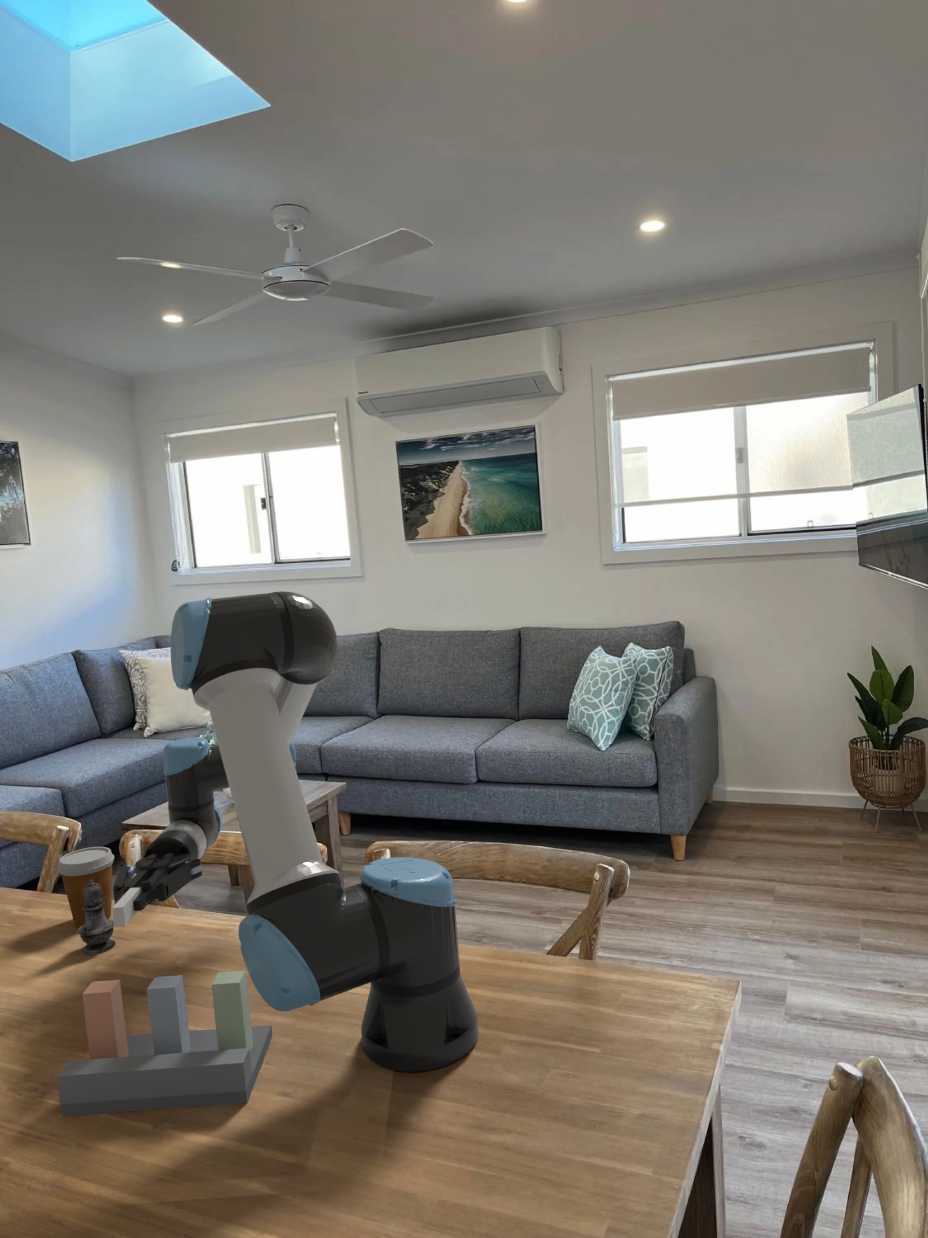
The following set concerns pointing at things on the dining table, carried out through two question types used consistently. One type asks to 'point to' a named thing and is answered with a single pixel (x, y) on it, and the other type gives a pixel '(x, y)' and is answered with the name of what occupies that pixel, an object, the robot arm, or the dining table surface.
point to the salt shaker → (95, 922)
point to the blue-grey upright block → (168, 1015)
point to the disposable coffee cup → (86, 878)
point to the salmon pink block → (105, 1020)
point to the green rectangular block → (232, 1011)
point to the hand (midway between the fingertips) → (118, 917)
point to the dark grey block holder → (163, 1076)
